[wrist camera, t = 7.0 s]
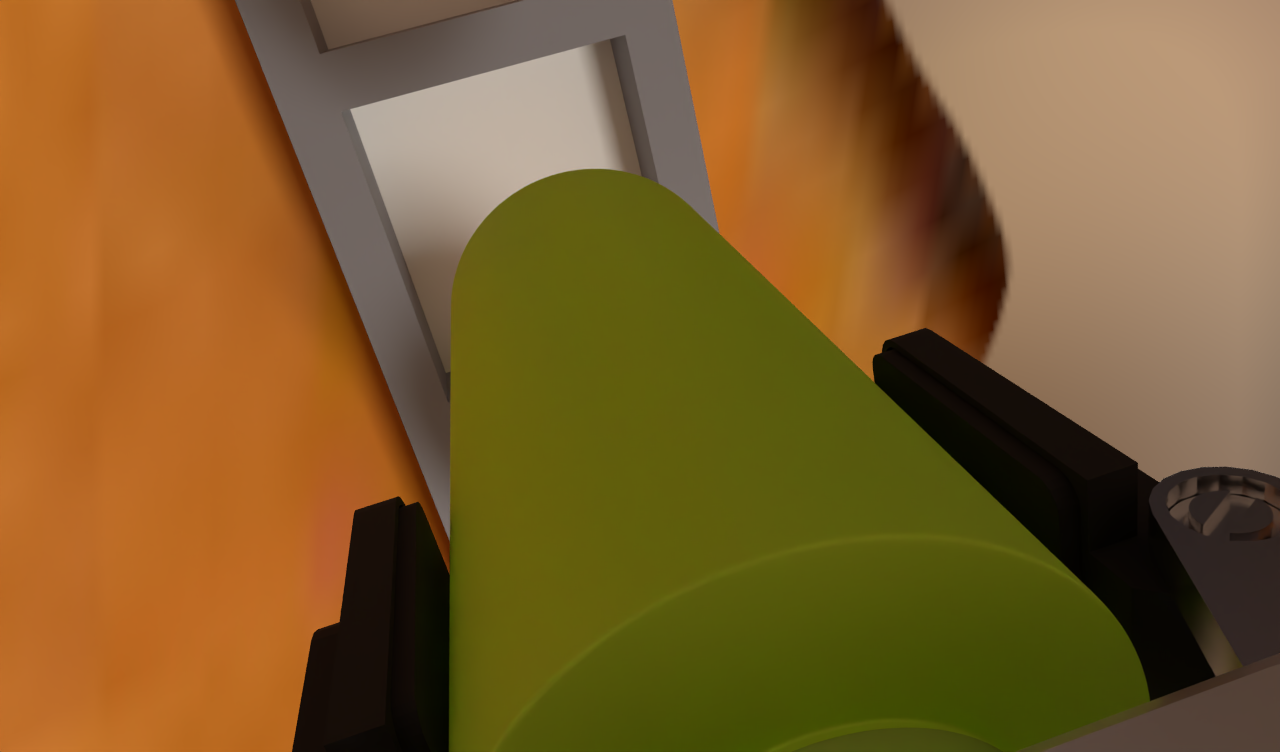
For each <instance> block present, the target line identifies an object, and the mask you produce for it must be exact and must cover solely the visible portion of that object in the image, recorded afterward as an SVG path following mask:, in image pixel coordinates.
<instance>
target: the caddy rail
mask: <svg viewBox="0 0 1280 752" xmlns="http://www.w3.org/2000/svg"><path fill="white" fill-rule="evenodd" d="M235 2H236V4H237V7H238V9H239V12H240V14H241V17H242V19H243V22H244V24H245V27H246V29H247V32H248V34H249V37H250V39H251V42H252V44H253V47H254V49H255V52H256V54H257V57H258V59H259V62H260V64H261V67H262V70H263V72H264V75H265V77H266V80H267V82H268V85H269V87H270V90H271V92H272V95H273V97H274V100H275V102H276V105H277V107H278V110H279V112H280V115H281V117H282V120H283V122H284V125H285V127H286V130H287V133H288V135H289V138H290V140H291V143H292V145H293V148H294V150H295V153H296V155H297V158H298V160H299V163H300V165H301V168H302V170H303V173H304V175H305V178H306V180H307V183H308V185H309V188H310V190H311V193H312V195H313V198H314V201H315V203H316V206H317V208H318V211H319V213H320V216H321V218H322V221H323V223H324V226H325V228H326V231H327V233H328V236H329V238H330V241H331V243H332V246H333V248H334V251H335V253H336V256H337V258H338V261H339V264H340V266H341V269H342V271H343V274H344V276H345V279H346V281H347V284H348V286H349V289H350V291H351V294H352V296H353V299H354V301H355V304H356V306H357V309H358V311H359V314H360V316H361V319H362V321H363V324H364V327H365V329H366V332H367V334H368V337H369V339H370V342H371V344H372V347H373V349H374V352H375V354H376V357H377V359H378V362H379V364H380V367H381V369H382V372H383V374H384V377H385V379H386V382H387V384H388V387H389V389H390V392H391V395H392V397H393V400H394V402H395V405H396V407H397V410H398V412H399V415H400V417H401V420H402V422H403V425H404V427H405V430H406V432H407V435H408V437H409V440H410V442H411V445H412V447H413V450H414V452H415V455H416V458H417V460H418V463H419V465H420V468H421V470H422V473H423V475H424V478H425V480H426V483H427V485H428V488H429V490H430V493H431V495H432V498H433V500H434V503H435V505H436V508H437V510H438V513H439V515H440V518H441V521H442V523H443V526H444V528H445V531H446V533H447V536H448V538H449V541H450V390H451V295H452V287H453V282H454V277H455V273H456V270H457V267H458V264H459V261H460V258H461V256H462V254H463V251H464V249H465V247H466V245H467V244H468V242H469V240H470V238H471V237H472V235H473V234H474V232H475V231H476V229H477V228H478V227H479V225H480V224H481V223H482V222H483V220H484V219H485V218H486V217H487V216H488V215H489V214H490V213H491V212H492V211H493V210H494V209H495V208H496V207H497V206H498V205H499V204H500V203H502V202H503V201H504V200H505V199H507V198H508V197H509V196H511V195H512V194H514V193H515V192H517V191H518V190H520V189H522V188H523V187H525V186H527V185H529V184H531V183H533V182H535V181H538V180H540V179H543V178H545V177H548V176H551V175H555V174H558V173H562V172H567V171H572V170H580V169H611V170H618V171H624V172H628V173H632V174H636V175H639V176H642V177H645V178H647V179H650V180H652V181H654V182H656V183H658V184H660V185H662V186H664V187H666V188H667V189H669V190H671V191H672V192H674V193H675V194H676V195H678V196H679V197H680V198H682V199H683V200H684V201H685V202H686V203H688V204H689V205H690V206H691V207H692V208H693V209H694V210H695V211H696V212H697V213H698V214H699V215H700V216H701V217H702V218H703V219H704V220H705V221H706V222H707V223H708V224H710V225H711V226H712V227H713V228H714V229H715V230H716V231H717V232H718V233H719V230H718V225H717V220H716V215H715V210H714V205H713V200H712V195H711V190H710V185H709V180H708V175H707V170H706V165H705V160H704V155H703V150H702V145H701V140H700V136H699V131H698V126H697V121H696V116H695V111H694V106H693V101H692V96H691V91H690V86H689V81H688V76H687V71H686V66H685V61H684V56H683V51H682V46H681V41H680V36H679V31H678V26H677V21H676V16H675V12H674V7H673V2H672V0H235Z"/></svg>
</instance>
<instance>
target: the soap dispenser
mask: <svg viewBox="0 0 1280 752" xmlns="http://www.w3.org/2000/svg"><path fill="white" fill-rule="evenodd" d="M1149 701H1150V697H1149V691H1148V686H1147V682H1146V678H1145V674H1144V671H1143V668H1142V665H1141V662H1140V660H1139V657H1138V655H1137V653H1136V650H1135V648H1134V646H1133V644H1132V642H1131V641H1130V639H1129V637H1128V635H1127V634H1126V632H1125V630H1124V629H1123V627H1122V626H1121V624H1120V623H1119V622H1118V620H1117V619H1116V617H1115V616H1114V615H1113V614H1112V613H1111V611H1110V610H1109V609H1108V608H1107V607H1106V606H1105V604H1104V603H1103V602H1102V601H1101V600H1100V599H1099V598H1098V597H1097V596H1096V595H1095V594H1094V593H1093V592H1092V591H1091V590H1090V589H1089V588H1088V587H1087V586H1086V585H1085V584H1084V583H1082V582H1081V581H1080V580H1079V579H1078V578H1077V577H1076V576H1075V575H1074V574H1073V573H1072V572H1071V571H1070V570H1069V569H1068V568H1067V567H1066V566H1065V565H1064V564H1063V563H1062V562H1061V561H1060V560H1059V559H1057V558H1056V557H1055V556H1054V555H1053V554H1052V553H1051V552H1050V551H1049V550H1048V549H1047V548H1046V547H1045V546H1044V545H1043V544H1042V543H1041V542H1040V541H1039V540H1038V539H1037V538H1036V537H1035V536H1034V535H1032V534H1031V533H1030V532H1029V531H1028V530H1027V529H1026V528H1025V527H1024V526H1023V525H1022V524H1021V523H1020V522H1019V521H1018V520H1017V519H1016V518H1015V517H1014V516H1013V515H1012V514H1011V513H1010V512H1009V511H1007V510H1006V509H1005V508H1004V507H1003V506H1002V505H1001V504H1000V503H999V502H998V501H997V500H996V499H995V498H994V497H993V496H992V495H991V494H990V493H989V492H988V491H987V490H986V489H985V488H984V487H982V486H981V485H980V484H979V483H978V482H977V481H976V480H975V479H974V478H973V477H972V476H971V475H970V474H969V473H968V472H967V471H966V470H965V469H964V468H963V467H962V466H961V465H960V464H959V463H957V462H956V461H955V460H954V459H953V458H952V457H951V456H950V455H949V454H948V453H947V452H946V451H945V450H944V449H943V448H942V447H941V446H940V445H939V444H938V443H937V442H936V441H935V440H934V439H932V438H931V437H930V436H929V435H928V434H927V433H926V432H925V431H924V430H923V429H922V428H921V427H920V426H919V425H918V424H917V423H916V422H915V421H914V420H913V419H912V418H911V417H910V416H909V415H907V414H906V413H905V412H904V411H903V410H902V409H901V408H900V407H899V406H898V405H897V404H896V403H895V402H894V401H893V400H892V399H891V398H890V397H889V396H888V395H887V394H886V393H885V392H884V391H882V390H881V389H880V388H879V387H878V386H877V385H876V384H875V383H874V382H873V381H872V380H871V379H870V378H869V377H868V376H867V375H866V374H865V373H864V372H863V371H862V370H861V369H860V368H859V367H857V366H856V365H855V364H854V363H853V362H852V361H851V360H850V359H849V358H848V357H847V356H846V355H845V354H844V353H843V352H842V351H841V350H840V349H839V348H838V347H837V346H836V345H835V344H834V343H832V342H831V341H830V340H829V339H828V338H827V337H826V336H825V335H824V334H823V333H822V332H821V331H820V330H819V329H818V328H817V327H816V326H815V325H814V324H813V323H812V322H811V321H810V320H809V319H807V318H806V317H805V316H804V315H803V314H802V313H801V312H800V311H799V310H798V309H797V308H796V307H795V306H794V305H793V304H792V303H791V302H790V301H789V300H788V299H787V298H786V297H785V296H784V295H782V294H781V293H780V292H779V291H778V290H777V289H776V288H775V287H774V286H773V285H772V284H771V283H770V282H769V281H768V280H767V279H766V278H765V277H764V276H763V275H762V274H761V273H760V272H759V271H757V270H756V269H755V268H754V267H753V266H752V265H751V264H750V263H749V262H748V261H747V260H746V259H745V258H744V257H743V256H742V255H741V254H740V253H739V252H738V251H737V250H736V249H735V248H734V247H732V246H731V245H730V244H729V243H728V242H727V241H726V240H725V239H724V238H723V237H722V236H721V235H720V234H719V233H718V232H717V231H716V230H715V229H714V228H713V227H712V226H711V225H710V224H708V223H707V222H706V221H705V220H704V219H703V218H702V217H701V216H700V215H699V214H698V213H697V212H696V211H695V210H694V209H693V208H692V207H691V206H690V205H689V204H688V203H686V202H685V201H684V200H683V199H682V198H680V197H679V196H678V195H676V194H675V193H674V192H672V191H671V190H669V189H667V188H666V187H664V186H662V185H660V184H658V183H656V182H654V181H652V180H650V179H647V178H645V177H642V176H639V175H636V174H632V173H628V172H624V171H618V170H611V169H580V170H572V171H567V172H562V173H558V174H555V175H551V176H548V177H545V178H543V179H540V180H538V181H535V182H533V183H531V184H529V185H527V186H525V187H523V188H522V189H520V190H518V191H517V192H515V193H514V194H512V195H511V196H509V197H508V198H507V199H505V200H504V201H503V202H502V203H500V204H499V205H498V206H497V207H496V208H495V209H494V210H493V211H492V212H491V213H490V214H489V215H488V216H487V217H486V218H485V219H484V220H483V222H482V223H481V224H480V225H479V227H478V228H477V229H476V231H475V232H474V234H473V235H472V237H471V238H470V240H469V242H468V244H467V245H466V247H465V249H464V251H463V254H462V256H461V258H460V261H459V264H458V267H457V270H456V273H455V277H454V282H453V287H452V295H451V390H450V616H449V752H1016V751H1018V750H1021V749H1024V748H1026V747H1029V746H1032V745H1034V744H1037V743H1039V742H1042V741H1045V740H1048V739H1050V738H1053V737H1056V736H1058V735H1061V734H1064V733H1066V732H1069V731H1072V730H1074V729H1077V728H1080V727H1082V726H1085V725H1088V724H1090V723H1093V722H1096V721H1098V720H1101V719H1104V718H1106V717H1109V716H1112V715H1115V714H1117V713H1120V712H1123V711H1125V710H1128V709H1131V708H1133V707H1136V706H1139V705H1141V704H1144V703H1147V702H1149Z"/></svg>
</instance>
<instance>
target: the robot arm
mask: <svg viewBox="0 0 1280 752" xmlns="http://www.w3.org/2000/svg"><path fill="white" fill-rule="evenodd" d="M873 373H874V381H875V384H876V385H877V386H878V387H879V388H880V389H881V390H882V391H884V392H885V393H886V394H887V395H888V396H889V397H890V398H891V399H892V400H893V401H894V402H895V403H896V404H897V405H898V406H899V407H900V408H901V409H902V410H903V411H904V412H905V413H906V414H907V415H909V416H910V417H911V418H912V419H913V420H914V421H915V422H916V423H917V424H918V425H919V426H920V427H921V428H922V429H923V430H924V431H925V432H926V433H927V434H928V435H929V436H930V437H931V438H932V439H934V440H935V441H936V442H937V443H938V444H939V445H940V446H941V447H942V448H943V449H944V450H945V451H946V452H947V453H948V454H949V455H950V456H951V457H952V458H953V459H954V460H955V461H956V462H957V463H959V464H960V465H961V466H962V467H963V468H964V469H965V470H966V471H967V472H968V473H969V474H970V475H971V476H972V477H973V478H974V479H975V480H976V481H977V482H978V483H979V484H980V485H981V486H982V487H984V488H985V489H986V490H987V491H988V492H989V493H990V494H991V495H992V496H993V497H994V498H995V499H996V500H997V501H998V502H999V503H1000V504H1001V505H1002V506H1003V507H1004V508H1005V509H1006V510H1007V511H1009V512H1010V513H1011V514H1012V515H1013V516H1014V517H1015V518H1016V519H1017V520H1018V521H1019V522H1020V523H1021V524H1022V525H1023V526H1024V527H1025V528H1026V529H1027V530H1028V531H1029V532H1030V533H1031V534H1032V535H1034V536H1035V537H1036V538H1037V539H1038V540H1039V541H1040V542H1041V543H1042V544H1043V545H1044V546H1045V547H1046V548H1047V549H1048V550H1049V551H1050V552H1051V553H1052V554H1053V555H1054V556H1055V557H1056V558H1057V559H1059V560H1060V561H1061V562H1062V563H1063V564H1064V565H1065V566H1066V567H1067V568H1068V569H1069V570H1070V571H1071V572H1072V573H1073V574H1074V575H1075V576H1076V577H1077V578H1078V579H1079V580H1080V581H1081V582H1082V583H1084V584H1085V585H1086V586H1087V587H1088V588H1089V589H1090V590H1091V591H1092V592H1093V593H1094V594H1095V595H1096V596H1097V597H1098V598H1099V599H1100V600H1101V601H1102V602H1103V603H1104V604H1105V606H1106V607H1107V608H1108V609H1109V610H1110V611H1111V613H1112V614H1113V615H1114V616H1115V617H1116V619H1117V620H1118V622H1119V623H1120V624H1121V626H1122V627H1123V629H1124V630H1125V632H1126V634H1127V635H1128V637H1129V639H1130V641H1131V642H1132V644H1133V646H1134V648H1135V650H1136V653H1137V655H1138V657H1139V660H1140V662H1141V665H1142V668H1143V671H1144V674H1145V678H1146V682H1147V686H1148V691H1149V697H1150V701H1149V702H1147V703H1144V704H1141V705H1139V706H1136V707H1133V708H1131V709H1128V710H1125V711H1123V712H1120V713H1117V714H1115V715H1112V716H1109V717H1106V718H1104V719H1101V720H1098V721H1096V722H1093V723H1090V724H1088V725H1085V726H1082V727H1080V728H1077V729H1074V730H1072V731H1069V732H1066V733H1064V734H1061V735H1058V736H1056V737H1053V738H1050V739H1048V740H1045V741H1042V742H1039V743H1037V744H1034V745H1032V746H1029V747H1026V748H1024V749H1021V750H1018V751H1016V752H1280V478H1278V477H1275V476H1272V475H1268V474H1265V473H1261V472H1258V471H1254V470H1249V469H1240V468H1233V467H1201V468H1196V469H1191V470H1186V471H1180V472H1178V473H1176V474H1173V475H1171V476H1169V477H1166V478H1164V479H1163V480H1162V481H1161V482H1158V481H1156V480H1155V479H1153V478H1152V477H1150V476H1148V475H1147V474H1145V473H1144V472H1142V471H1141V470H1139V469H1138V463H1137V462H1136V461H1134V460H1132V459H1131V458H1129V457H1128V456H1126V455H1125V454H1123V453H1122V452H1120V451H1118V450H1117V449H1115V448H1114V447H1112V446H1111V445H1109V444H1108V443H1106V442H1104V441H1103V440H1101V439H1100V438H1098V437H1097V436H1095V435H1094V434H1092V433H1090V432H1089V431H1087V430H1086V429H1084V428H1083V427H1081V426H1079V425H1078V424H1076V423H1075V422H1073V421H1072V420H1070V419H1069V418H1067V417H1065V416H1064V415H1062V414H1061V413H1059V412H1058V411H1056V410H1055V409H1053V408H1051V407H1050V406H1048V405H1047V404H1045V403H1044V402H1042V401H1040V400H1039V399H1037V398H1036V397H1034V396H1033V395H1031V394H1030V393H1028V392H1026V391H1025V390H1023V389H1022V388H1020V387H1019V386H1017V385H1015V384H1014V383H1012V382H1011V381H1009V380H1008V379H1006V378H1005V377H1003V376H1001V375H1000V374H998V373H997V372H995V371H994V370H992V369H991V368H989V367H987V366H986V365H984V364H983V363H981V362H980V361H978V360H977V359H975V358H973V357H972V356H970V355H969V354H967V353H966V352H964V351H963V350H961V349H959V348H958V347H956V346H955V345H953V344H952V343H950V342H949V341H947V340H945V339H944V338H942V337H941V336H939V335H938V334H936V333H934V332H933V331H931V330H929V329H927V328H924V329H921V330H918V331H914V332H911V333H908V334H905V335H902V336H899V337H896V338H892V339H889V340H886V341H885V342H884V344H883V348H882V353H880V354H877V355H875V356H874V358H873ZM449 616H450V575H449V572H448V570H447V567H446V565H445V562H444V560H443V557H442V555H441V552H440V550H439V547H438V545H437V543H436V540H435V538H434V535H433V533H432V530H431V528H430V525H429V523H428V520H427V518H426V515H425V513H424V511H423V508H422V507H421V505H420V503H419V502H416V503H413V504H410V505H407V506H405V504H404V502H403V501H402V499H401V498H400V497H399V496H398V497H395V498H392V499H389V500H386V501H383V502H380V503H377V504H373V505H370V506H367V507H364V508H361V509H358V510H355V513H354V518H353V525H352V533H351V540H350V548H349V555H348V563H347V570H346V578H345V586H344V593H343V601H342V608H341V616H340V622H339V623H336V624H333V625H330V626H327V627H324V628H321V629H318V630H317V631H316V632H314V634H313V637H312V640H311V645H310V651H309V657H308V662H307V668H306V674H305V680H304V686H303V691H302V697H301V703H300V709H299V715H298V720H297V726H296V732H295V738H294V743H293V749H292V752H449Z"/></svg>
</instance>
